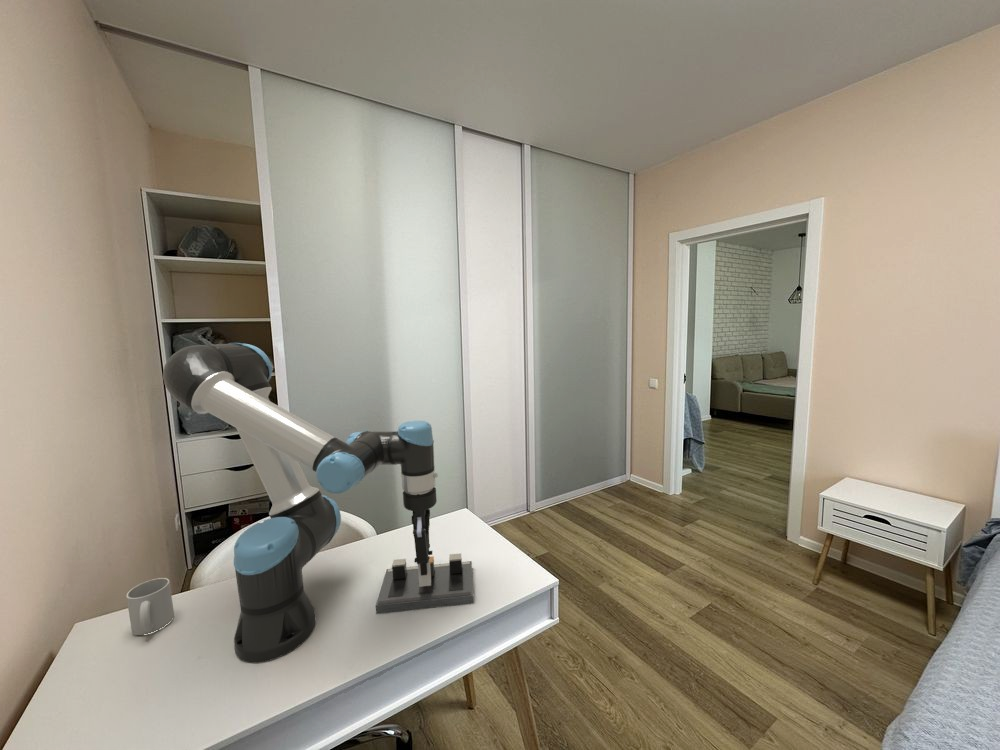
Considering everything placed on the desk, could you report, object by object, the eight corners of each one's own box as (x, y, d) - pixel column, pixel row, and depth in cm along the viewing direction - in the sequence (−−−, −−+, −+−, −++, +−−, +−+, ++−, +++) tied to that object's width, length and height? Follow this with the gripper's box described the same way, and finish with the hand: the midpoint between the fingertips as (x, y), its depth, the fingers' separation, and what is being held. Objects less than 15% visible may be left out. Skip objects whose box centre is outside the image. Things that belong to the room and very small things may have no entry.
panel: (376, 614, 90) (374, 589, 89) (387, 576, 104) (385, 554, 103) (473, 603, 92) (472, 579, 92) (471, 568, 106) (470, 546, 105)
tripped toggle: (421, 577, 99) (420, 563, 99) (422, 571, 102) (421, 557, 101) (433, 575, 100) (432, 561, 99) (434, 569, 102) (433, 556, 102)
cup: (177, 609, 95) (172, 574, 94) (169, 636, 86) (163, 597, 85) (136, 621, 91) (131, 585, 90) (124, 651, 82) (118, 611, 81)
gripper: (434, 498, 86) (440, 600, 89) (436, 477, 99) (442, 566, 102) (398, 501, 85) (405, 604, 88) (406, 479, 98) (412, 569, 101)
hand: (425, 584), depth 95 cm, fingers closed
